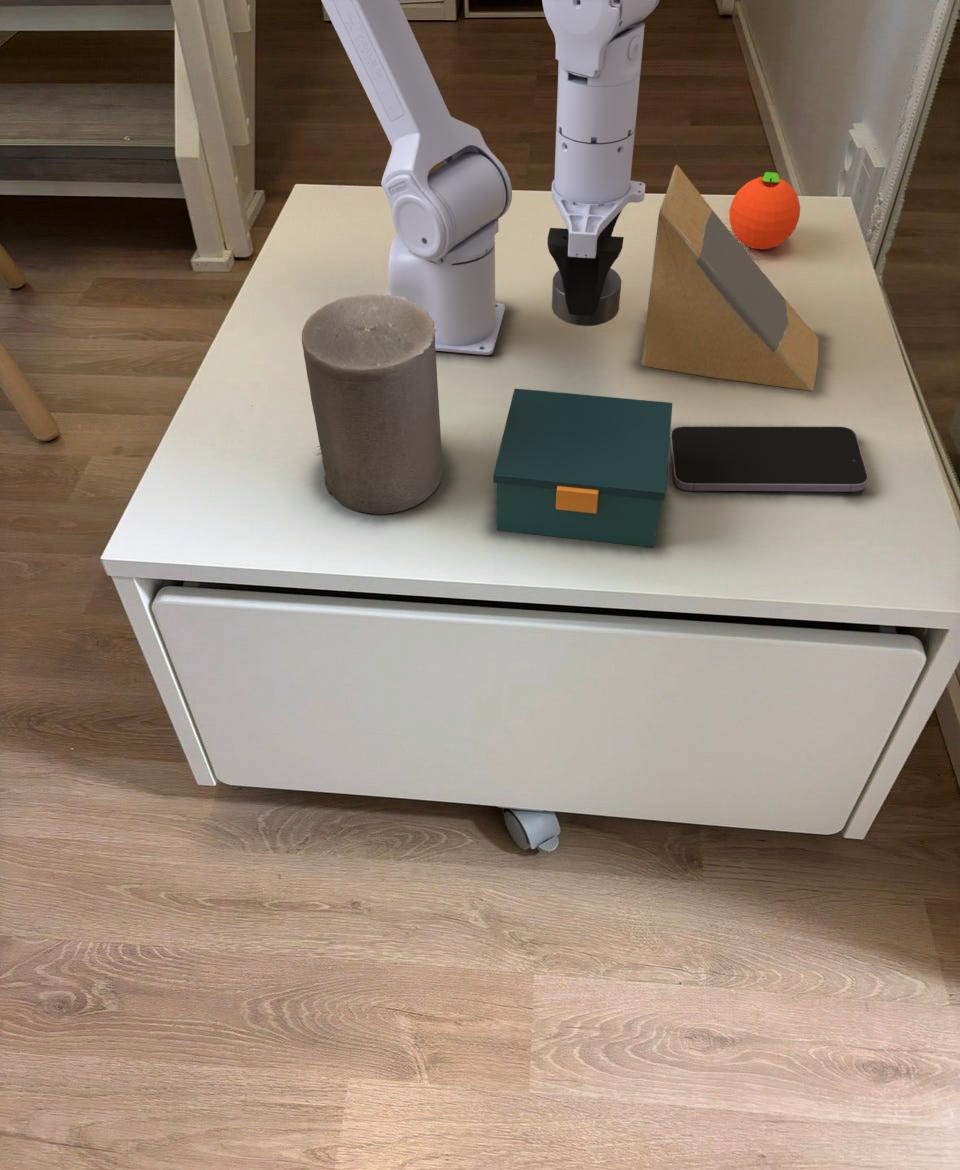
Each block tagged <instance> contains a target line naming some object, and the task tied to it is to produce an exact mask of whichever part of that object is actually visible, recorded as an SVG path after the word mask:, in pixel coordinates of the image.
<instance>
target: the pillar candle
mask: <svg viewBox="0 0 960 1170" xmlns="http://www.w3.org/2000/svg"><path fill="white" fill-rule="evenodd" d="M435 331H436V329H435V328H434V321H433V320H432V319H431V317H430V316H429V313H428V312H426V311H425V310H424V309H423V308H421V307H420V306H419V305H417V304H415V303H413V302H411V301H409V300H408V299H407V298H405V297H401V296H389V294H378V293H377V294H376V293H375V294H374V293H373V294H371V293H370V294H369V293H368V294H358V295H352V296H347V297H341V298H338V299H336V300H333V301H331V302H328V303H327V304H325V305H323V306H322V307H320V308H319V309H317V310H316V311H315V312H314V313H312V314H310V316H309V317H308V318H307V319H306V321H305V324H304V325H303V328H302V331H301V344H302V351H303V358H304V363H305V370H306V376H307V382H308V386H309V391H310V392H309V393H310V402H311V405H312V411H313V416H314V421H315V426H316V433H317V438H318V444H319V449H320V454H321V459H322V465H323V471H324V477H323V478H324V486H325V488H326V490H327V492H328V494H329V495H330V496H332V498H333V499H334V500H336V502H338V504H340V505H342V506H344V507H347V508H349V509H351V510H352V511H353V510H354V511H356V512H359V513H365V514H373V515H388V514H395V513H398V512H404V511H406V510H409V509H411V508H414V507H416V506H418V505H420V504H421V503H423V502H425V501H426V500H427V499H429V498H430V497H431V496H432V495H433V493H435V492H436V491H437V489H438V487H439V486H440V484H441V482H442V478H443V455H442V436H441V433H442V432H441V416H440V401H439V388H438V387H439V384H438V383H439V381H438V368H437V367H438V366H437V365H438V364H437V351H436V349H435Z"/></svg>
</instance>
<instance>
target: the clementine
mask: <svg viewBox="0 0 960 1170" xmlns="http://www.w3.org/2000/svg"><path fill="white" fill-rule="evenodd" d="M728 213H729V214H728V215H729V216H728V220H729V224H730V228H731V232H732V234H733V235H734V237H736V240H737V241H738V242H739V243H742V244H744V245H745V246H746V247H748V248H750V249H754V250H755V249H756V250H767V249H771V248H772V249H773V248H775V247H777V246H779V245H781V244H783V243H784V242H785V241H787V240H788V239H789V238H790V236H791V235H792V234H793V232H795V230H796V228H797V225H798V223H799V220H800V216H801V204H800V200H799V196H798V193H796V190H795V189H794V187H793V186H792V185H790V183H788V182H787V181H785V180H784V179H782V178H780V176H779V174H778V173H777V172H773V171H771V172H770V171H765V172H764V174H763V176H759V177H757V178H754V179H751V180H750V181H748V182H746V183H745V184H744V185H743V186H742V187H740V189H738V191H737V192H736V193H735V195H734V197H733V199H732V201H731V204H730V207H729V211H728Z"/></svg>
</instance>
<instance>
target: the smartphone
mask: <svg viewBox="0 0 960 1170" xmlns="http://www.w3.org/2000/svg"><path fill="white" fill-rule="evenodd" d="M669 449H670V458H671V468H672V478H673V479H672V480H673V483H674V485H675V487H676V488H678V489H680V490H682V491H695V492H696V491H699V492H701V491H702V492H704V491H705V492H706V491H707V492H708V491H709V492H710V491H712V492H713V491H714V492H738V491H739V492H847V493H849V492H861V491H862V490H864V489H865V488H866V487H867V483H868V480H869V474H868V471H867V468H866V464H865V461H864V457H863V454H862V449H861V446H860V443H859V439H858V436H857V434H856V432H855V431H854V430H853V429H851V428H849V427H846V426H838V425H837V426H829V425H827V426H822V425H821V426H817V425H815V426H814V425H813V426H811V425H810V426H804V425H802V426H798V425H797V426H794V425H793V426H791V425H790V426H789V425H788V426H785V425H784V426H780V425H779V426H778V425H777V426H776V425H775V426H774V425H773V426H771V425H769V426H768V425H767V426H761V425H760V426H757V425H756V426H755V425H754V426H751V425H750V426H747V425H746V426H744V425H743V426H741V425H740V426H736V425H735V426H734V425H733V426H732V425H731V426H726V425H725V426H724V425H723V426H722V425H721V426H720V425H719V426H715V425H710V426H707V425H706V426H705V425H703V426H702V425H701V426H700V425H697V426H696V425H693V426H691V425H690V426H689V425H687V426H676V427H675V428H673V429H672V430H671V431H670V442H669Z"/></svg>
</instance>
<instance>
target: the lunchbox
mask: <svg viewBox="0 0 960 1170" xmlns="http://www.w3.org/2000/svg"><path fill="white" fill-rule="evenodd" d="M672 415H673V402H667V401H656V400H646V399H636V398H635V399H634V398H624V397H614V396H603V395H592V394H591V395H590V394H581V393H570V392H558V391H547V390H537V389H526V388H525V389H524V388H514V389H513V392H512V397H511V401H510V404H509V409H508V413H507V417H506V420H505V421H506V422H505V426H504V430H503V434H502V438H501V442H500V445H499V450H498V453H497V457H496V461H495V466H494V470H493V473H492V482H493V484H495V487H496V490H495V491H496V493H495V494H496V499H495V500H496V531H501V532H512V533H521V534H530V535H537V536H538V535H539V536H548V537H556V538H557V537H558V538H565V539H574V540H584V541H592V542H593V541H594V542H602V543H603V542H604V543H612V544H620V545H628V546H629V545H630V546H638V547H647V548H655V545H656V537H657V532H658V524H659V519H660V511H661V506H662V501H665V499H666V489H667V477H668V465H669V453H670V451H669V450H670V435H671V428H672Z"/></svg>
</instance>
